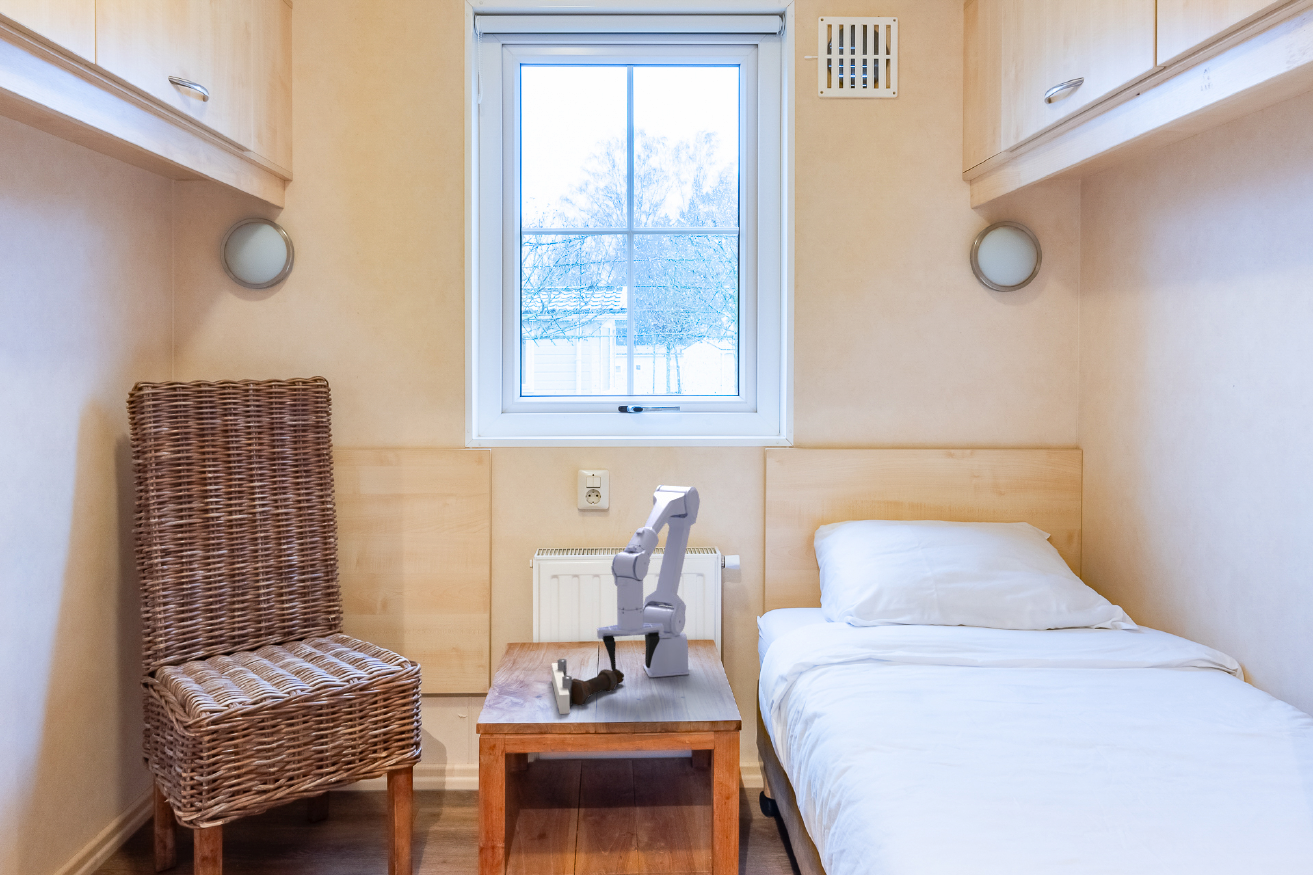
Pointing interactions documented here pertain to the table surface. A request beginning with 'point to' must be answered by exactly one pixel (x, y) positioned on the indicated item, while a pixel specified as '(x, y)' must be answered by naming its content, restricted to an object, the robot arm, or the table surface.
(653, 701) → the table surface
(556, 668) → the bar
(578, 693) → the bolt
